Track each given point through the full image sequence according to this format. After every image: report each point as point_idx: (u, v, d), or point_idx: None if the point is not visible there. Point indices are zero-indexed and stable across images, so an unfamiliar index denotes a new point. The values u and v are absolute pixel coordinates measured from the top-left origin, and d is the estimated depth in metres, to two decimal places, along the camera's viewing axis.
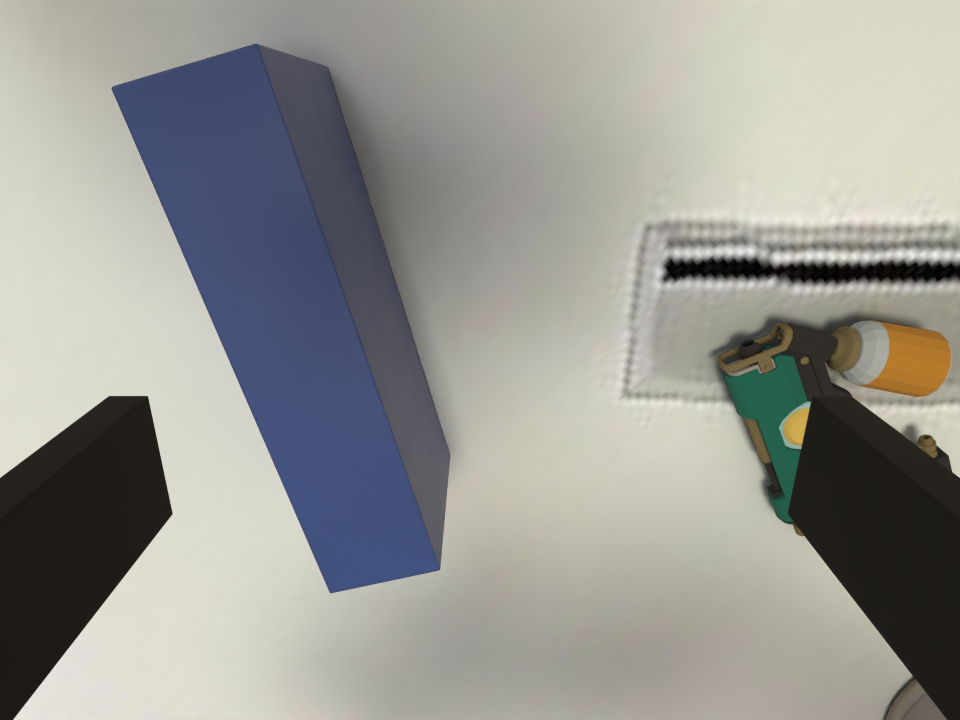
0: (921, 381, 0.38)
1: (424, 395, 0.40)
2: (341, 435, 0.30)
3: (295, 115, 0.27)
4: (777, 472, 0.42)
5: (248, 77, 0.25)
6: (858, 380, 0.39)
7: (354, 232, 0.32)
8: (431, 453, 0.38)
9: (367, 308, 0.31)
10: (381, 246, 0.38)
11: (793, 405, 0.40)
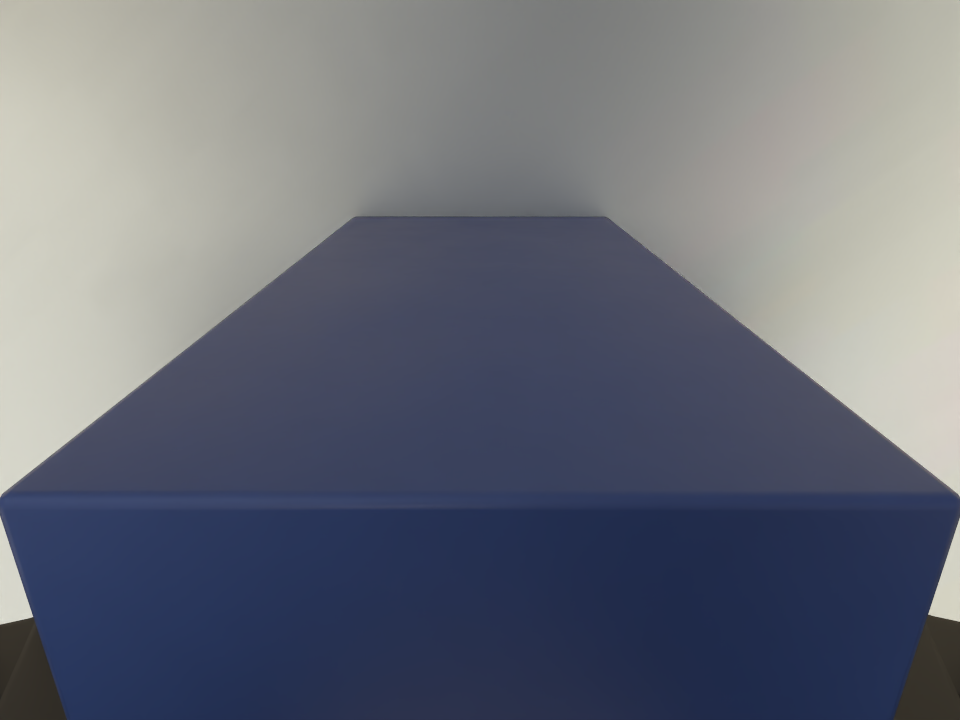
0: None
1: None
2: None
3: None
4: None
5: (816, 627, 0.04)
6: None
7: None
8: None
9: None
10: None
11: None
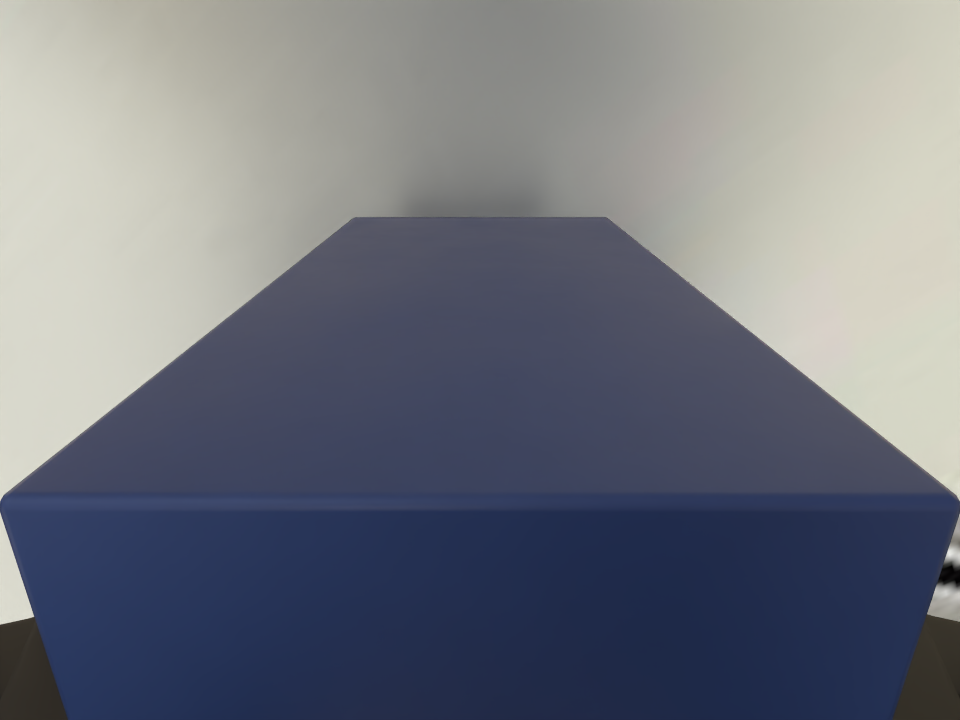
0: None
1: None
2: None
3: None
4: None
5: (815, 628, 0.04)
6: None
7: None
8: None
9: None
10: None
11: None
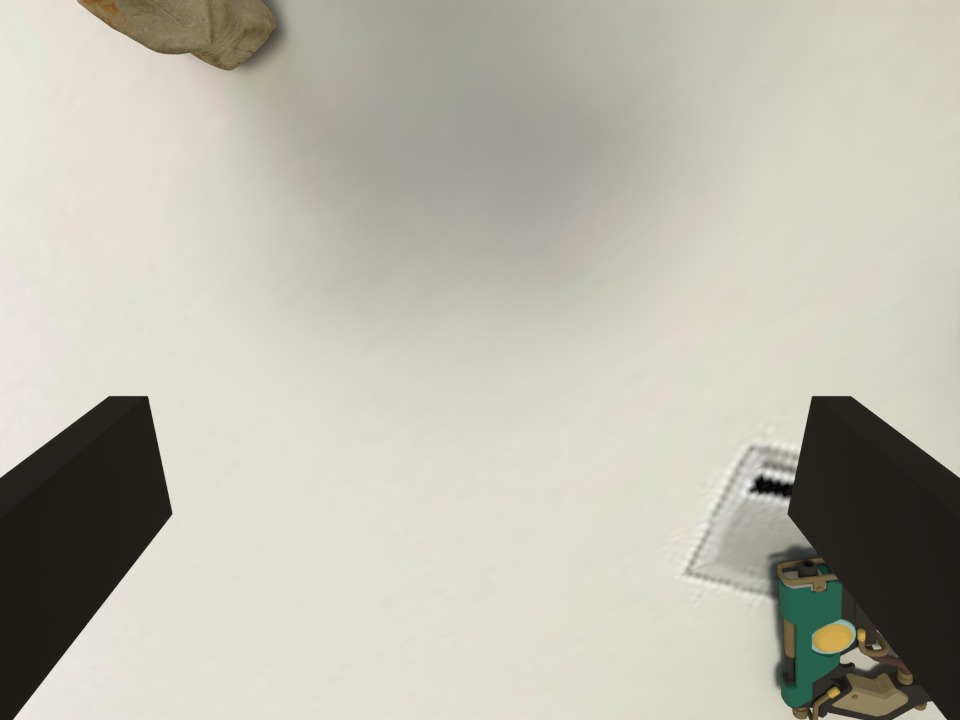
0: None
1: None
2: None
3: None
4: (798, 668, 0.48)
5: None
6: None
7: None
8: None
9: None
10: None
11: (830, 620, 0.46)
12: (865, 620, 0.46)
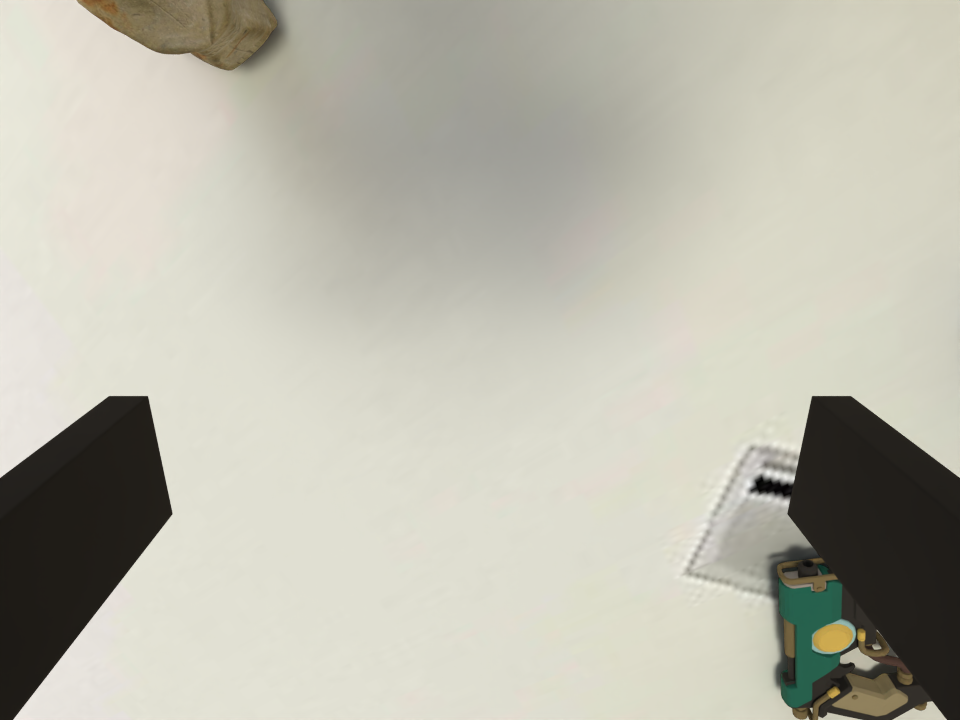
0: None
1: None
2: None
3: None
4: (798, 668, 0.48)
5: None
6: None
7: None
8: None
9: None
10: None
11: (830, 620, 0.46)
12: (865, 620, 0.46)
